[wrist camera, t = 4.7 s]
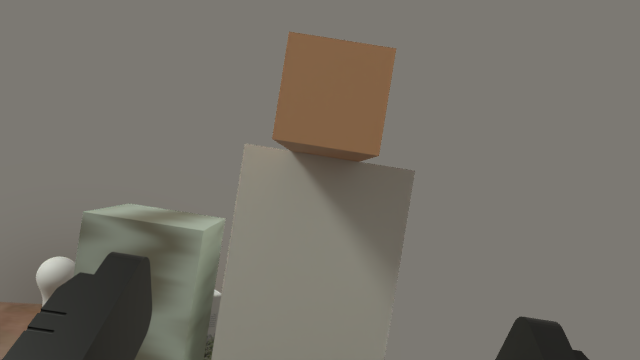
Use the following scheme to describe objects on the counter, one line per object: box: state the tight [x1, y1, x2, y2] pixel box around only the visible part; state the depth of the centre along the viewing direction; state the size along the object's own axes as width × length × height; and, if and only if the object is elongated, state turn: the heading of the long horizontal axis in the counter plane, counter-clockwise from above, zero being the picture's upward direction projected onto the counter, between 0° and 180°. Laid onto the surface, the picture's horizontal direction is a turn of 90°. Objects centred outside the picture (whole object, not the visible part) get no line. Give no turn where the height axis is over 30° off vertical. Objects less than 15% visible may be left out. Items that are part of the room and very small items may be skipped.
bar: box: [272, 32, 396, 162], centre depth 31 cm, size 26×4×4 cm, turn 0°
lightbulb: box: [36, 257, 75, 307], centre depth 77 cm, size 6×6×11 cm
